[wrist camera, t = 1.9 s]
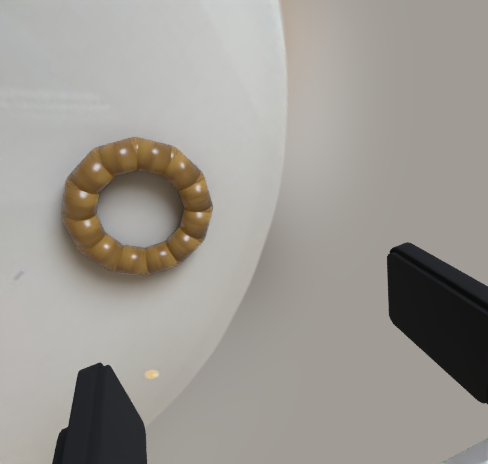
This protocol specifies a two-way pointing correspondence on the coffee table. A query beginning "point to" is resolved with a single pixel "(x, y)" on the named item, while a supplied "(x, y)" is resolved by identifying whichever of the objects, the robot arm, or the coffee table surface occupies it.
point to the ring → (124, 161)
